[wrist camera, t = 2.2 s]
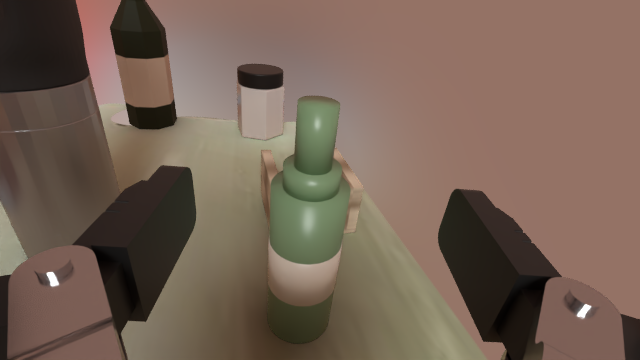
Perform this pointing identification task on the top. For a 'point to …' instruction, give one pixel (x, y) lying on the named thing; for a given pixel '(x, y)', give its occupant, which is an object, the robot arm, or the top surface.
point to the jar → (260, 101)
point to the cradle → (356, 187)
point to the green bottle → (306, 226)
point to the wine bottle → (143, 65)
